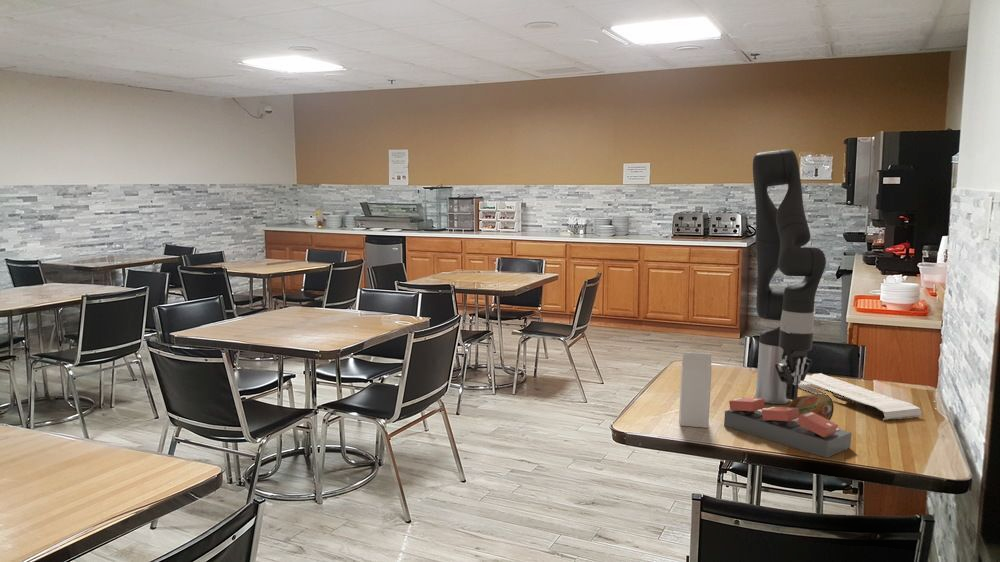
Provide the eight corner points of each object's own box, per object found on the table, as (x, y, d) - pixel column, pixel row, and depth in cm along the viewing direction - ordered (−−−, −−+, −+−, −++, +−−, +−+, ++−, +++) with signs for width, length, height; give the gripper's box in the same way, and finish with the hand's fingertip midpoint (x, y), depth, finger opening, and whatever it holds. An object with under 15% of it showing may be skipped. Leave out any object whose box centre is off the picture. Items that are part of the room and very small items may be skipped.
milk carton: (708, 428, 188) (712, 356, 186) (680, 426, 190) (683, 355, 187) (706, 420, 195) (710, 350, 193) (679, 417, 197) (682, 349, 194)
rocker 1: (741, 406, 193) (740, 397, 193) (765, 407, 187) (763, 398, 187) (730, 410, 190) (729, 400, 190) (753, 411, 184) (752, 401, 184)
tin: (794, 431, 187) (796, 400, 186) (784, 428, 190) (786, 396, 189) (833, 424, 194) (836, 393, 193) (823, 420, 197) (825, 390, 196)
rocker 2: (773, 416, 185) (772, 406, 185) (799, 417, 180) (798, 407, 180) (762, 419, 182) (761, 409, 182) (788, 421, 177) (787, 410, 177)
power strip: (748, 418, 198) (749, 401, 197) (850, 448, 176) (851, 429, 175) (724, 425, 191) (725, 408, 190) (826, 458, 169) (828, 438, 168)
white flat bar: (819, 370, 237) (923, 407, 200) (818, 381, 238) (922, 420, 200) (787, 372, 234) (887, 410, 196) (786, 384, 234) (886, 424, 197)
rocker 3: (808, 420, 178) (811, 410, 177) (835, 433, 173) (837, 424, 172) (797, 423, 175) (800, 414, 174) (824, 437, 170) (827, 428, 169)
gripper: (797, 324, 183) (792, 391, 185) (767, 329, 175) (762, 399, 177) (825, 329, 177) (820, 398, 179) (795, 334, 169) (790, 406, 171)
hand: (791, 398), depth 178 cm, fingers closed
